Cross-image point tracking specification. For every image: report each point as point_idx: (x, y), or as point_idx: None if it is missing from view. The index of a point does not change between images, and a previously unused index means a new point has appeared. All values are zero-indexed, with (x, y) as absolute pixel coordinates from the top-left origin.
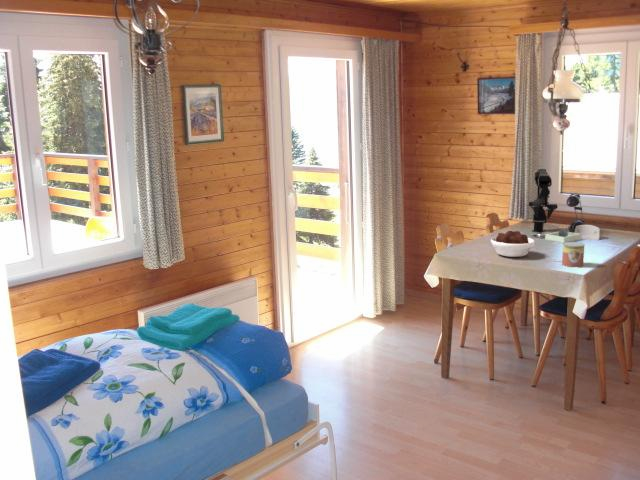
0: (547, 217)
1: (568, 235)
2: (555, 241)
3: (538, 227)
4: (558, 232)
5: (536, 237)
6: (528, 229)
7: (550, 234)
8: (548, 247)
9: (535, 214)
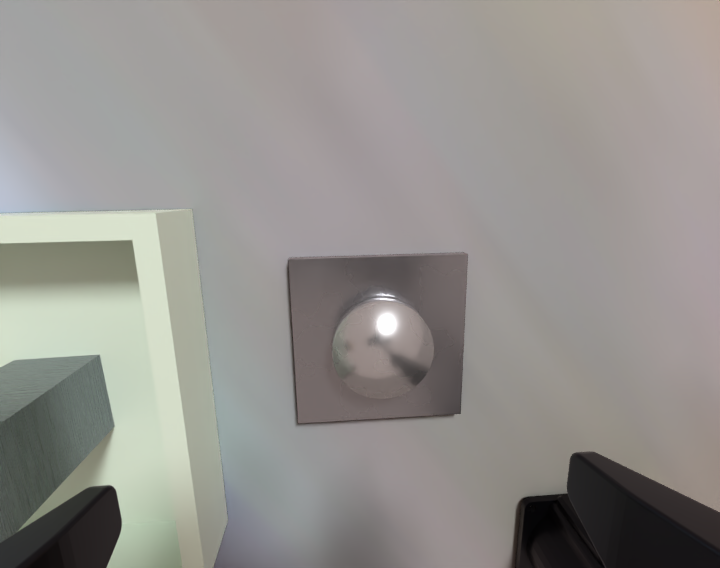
0: (62, 519)
1: None
2: (16, 213)
3: (576, 550)
4: (173, 485)
5: (372, 255)
6: None
7: (149, 306)
8: None
9: (669, 506)
